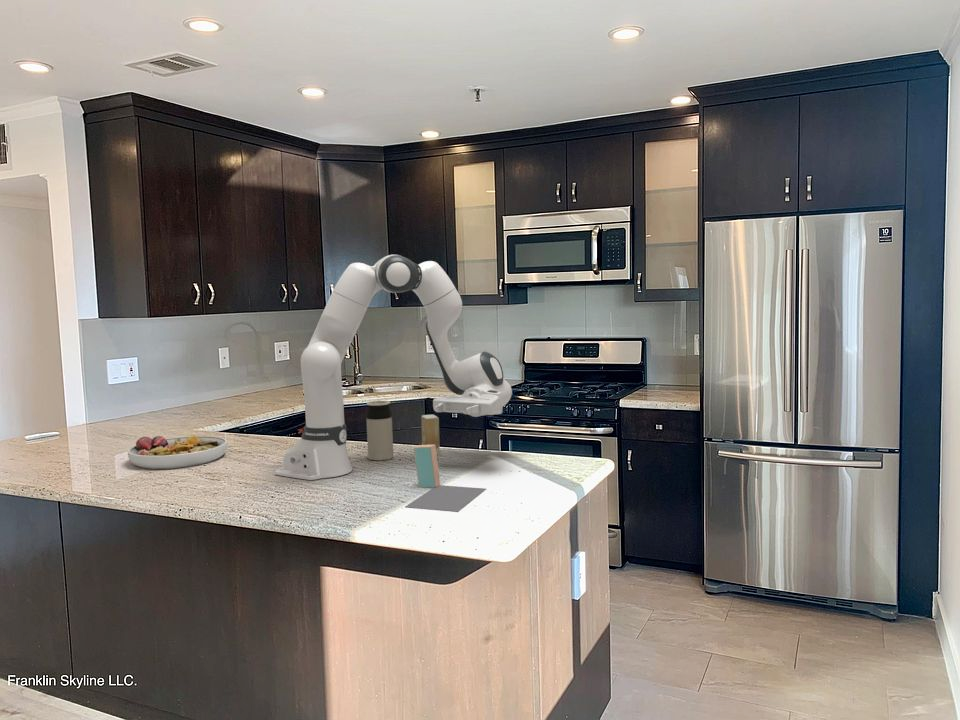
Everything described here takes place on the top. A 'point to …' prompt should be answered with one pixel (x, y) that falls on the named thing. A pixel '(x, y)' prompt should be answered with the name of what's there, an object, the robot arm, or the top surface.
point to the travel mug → (379, 430)
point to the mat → (446, 498)
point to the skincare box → (430, 431)
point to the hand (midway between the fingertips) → (451, 410)
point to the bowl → (176, 451)
